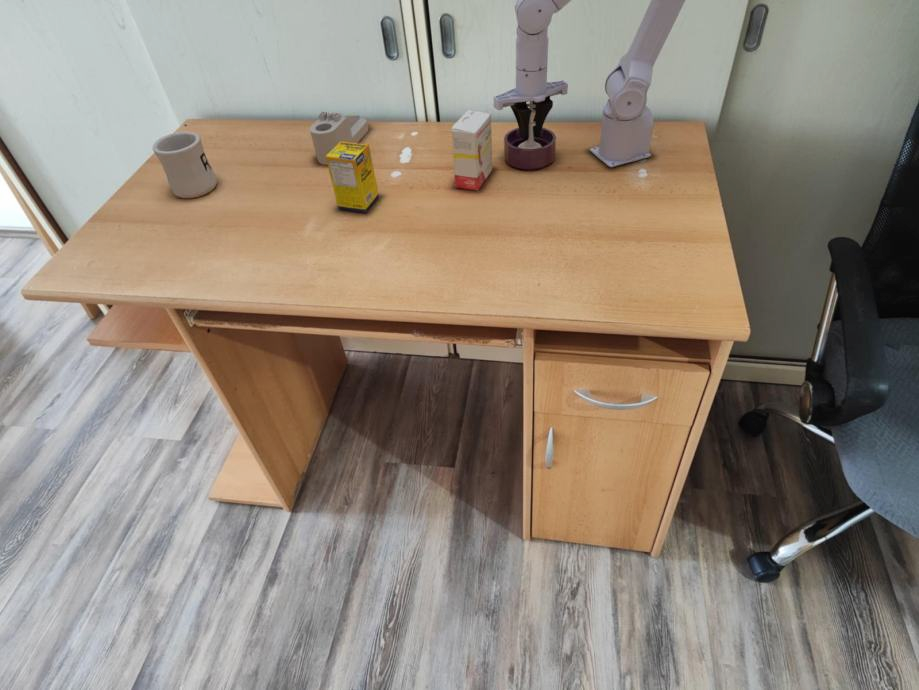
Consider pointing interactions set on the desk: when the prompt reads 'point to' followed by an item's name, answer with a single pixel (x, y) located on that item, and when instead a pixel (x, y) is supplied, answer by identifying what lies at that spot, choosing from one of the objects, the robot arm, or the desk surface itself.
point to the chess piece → (530, 131)
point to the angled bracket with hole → (335, 132)
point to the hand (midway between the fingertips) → (529, 137)
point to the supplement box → (352, 176)
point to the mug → (185, 164)
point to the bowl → (529, 150)
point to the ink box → (472, 149)
